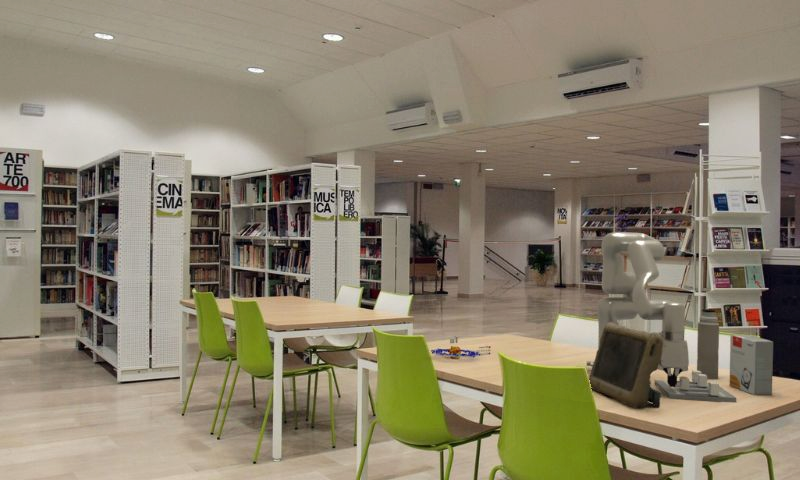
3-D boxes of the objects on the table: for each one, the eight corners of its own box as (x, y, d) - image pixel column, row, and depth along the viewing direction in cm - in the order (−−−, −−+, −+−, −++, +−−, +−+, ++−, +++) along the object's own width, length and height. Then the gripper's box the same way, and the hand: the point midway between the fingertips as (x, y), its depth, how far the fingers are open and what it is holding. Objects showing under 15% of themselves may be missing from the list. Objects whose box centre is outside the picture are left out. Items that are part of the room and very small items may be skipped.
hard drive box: (728, 385, 254) (729, 334, 254) (747, 385, 254) (748, 334, 254) (753, 395, 238) (754, 340, 238) (773, 395, 239) (774, 340, 239)
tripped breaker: (681, 389, 236) (681, 377, 236) (679, 387, 239) (679, 376, 239) (689, 389, 236) (689, 378, 236) (686, 387, 239) (686, 376, 239)
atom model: (472, 352, 325) (473, 331, 325) (509, 360, 304) (510, 337, 304) (416, 355, 304) (417, 333, 305) (452, 364, 283) (453, 340, 284)
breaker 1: (694, 382, 249) (694, 371, 249) (691, 380, 252) (692, 370, 252) (701, 382, 248) (701, 372, 248) (699, 381, 251) (699, 370, 251)
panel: (669, 398, 230) (670, 394, 230) (654, 383, 254) (654, 379, 254) (736, 402, 226) (736, 397, 226) (714, 386, 251) (714, 382, 251)
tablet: (580, 388, 244) (581, 321, 244) (612, 386, 248) (613, 320, 248) (634, 410, 213) (636, 333, 213) (670, 408, 217) (672, 333, 217)
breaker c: (699, 386, 242) (699, 375, 242) (697, 384, 245) (697, 373, 245) (706, 386, 241) (707, 376, 241) (704, 385, 244) (704, 374, 244)
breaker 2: (711, 395, 228) (711, 383, 228) (708, 393, 231) (708, 381, 231) (719, 395, 228) (719, 384, 228) (716, 393, 231) (716, 382, 231)
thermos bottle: (715, 375, 273) (716, 308, 273) (720, 379, 265) (721, 310, 265) (694, 374, 274) (696, 308, 274) (699, 378, 266) (700, 310, 266)
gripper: (653, 336, 236) (652, 387, 236) (697, 338, 233) (696, 389, 233) (649, 333, 243) (648, 383, 243) (691, 335, 241) (690, 385, 241)
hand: (672, 386), depth 238 cm, fingers closed
